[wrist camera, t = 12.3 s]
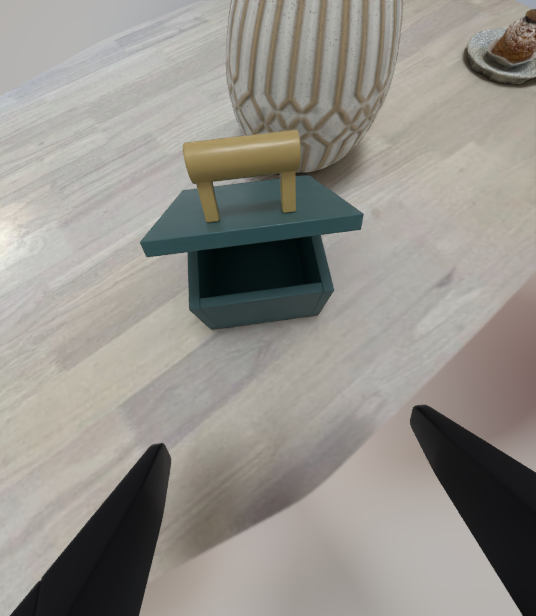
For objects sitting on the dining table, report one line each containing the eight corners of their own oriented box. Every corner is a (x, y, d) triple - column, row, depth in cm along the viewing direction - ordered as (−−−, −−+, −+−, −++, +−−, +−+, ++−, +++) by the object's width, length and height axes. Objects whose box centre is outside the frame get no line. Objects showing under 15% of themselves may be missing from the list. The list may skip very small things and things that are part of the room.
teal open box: (318, 315, 23) (334, 290, 17) (211, 329, 23) (188, 309, 17) (300, 230, 26) (308, 184, 20) (206, 242, 26) (185, 199, 20)
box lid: (361, 230, 12) (378, 121, 9) (146, 257, 11) (99, 154, 9) (309, 185, 20) (310, 122, 17) (185, 200, 20) (167, 139, 17)
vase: (212, 151, 30) (110, -243, 11) (293, 90, 34) (319, -290, 15) (307, 219, 27) (391, -194, 8) (386, 143, 30) (582, -272, 11)
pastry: (566, 74, 34) (611, 27, 29) (497, 96, 32) (532, 51, 28) (510, 31, 37) (542, -16, 33) (446, 49, 36) (470, 3, 32)
